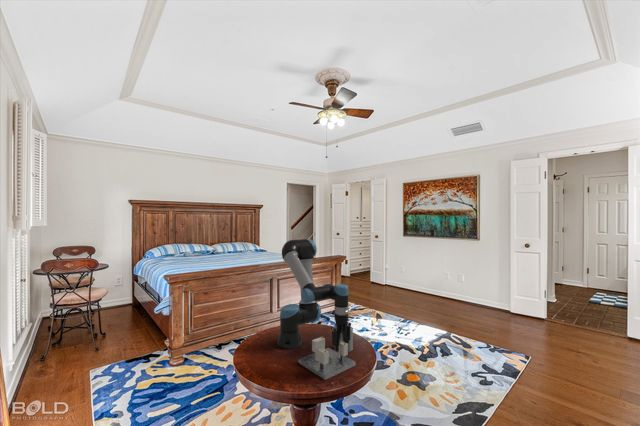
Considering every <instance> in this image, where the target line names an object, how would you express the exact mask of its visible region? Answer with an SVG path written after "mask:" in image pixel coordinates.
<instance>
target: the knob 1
mask: <svg viewBox="0 0 640 426" xmlns="http://www.w3.org/2000/svg"><path fill="white" fill-rule="evenodd" d="M325 349H326V348H325ZM325 349H323V348H321V347H318V348H315V352H314V353H315V360H317V361H318V362H320V368H324V365H325V364H328V363H329V351H327V350H325Z"/></svg>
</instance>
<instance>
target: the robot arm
mask: <svg viewBox="0 0 640 426" xmlns="http://www.w3.org/2000/svg"><path fill="white" fill-rule="evenodd" d="M281 248H282V249H281V257H282V259H283V262H284V263H286V264H287V265H288V267H289V269H290V271H291V273H292V274H293V276H294V278H295V280H296V282H297V283H298V286H299V288H300V300H299V302H298V304H297V303H290V304H286V305H285V304H284V306H282V307H281V309H280V314H279V320H280V321H279V323H280V324H279V325H280V327H279V328H280V329H279V334H278V338H277V342H276V344H277V346H278V347H279V348H281V349H285V350H286V349H288V350H289V349H290V350H291V349H297V348H298V347H300V346H301V345H302V336H301V334H300V326H302V325H306V324H307V325H308V324H313V323H315V322H318V321H319V319H320V318H321V315H322V307H321V305H320V303H318V302H319V301H325V300H333V301H334V322H335V324H334V326H331V327H330V330H331V345H333V346H334V351H336V357H338V358H340V346H339V343H340V337H341V333H342V336H343V341H344V342H345V343H349V342H348V341H350V327H352V322H349V295H350V293H349V286H348V285H347V284H342V283H338V284H335V285H333V284H331V283H325V284H323V285H322V286H316V284H314V276H313V263H312V262H313V260H314V257H316V255H317V249H318V248H317V246H316V243H315V242H314V240H313V239H309V238H302V239H290V240H287V241H286V242H285V243H284V244H283V246H282V247H281Z"/></svg>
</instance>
